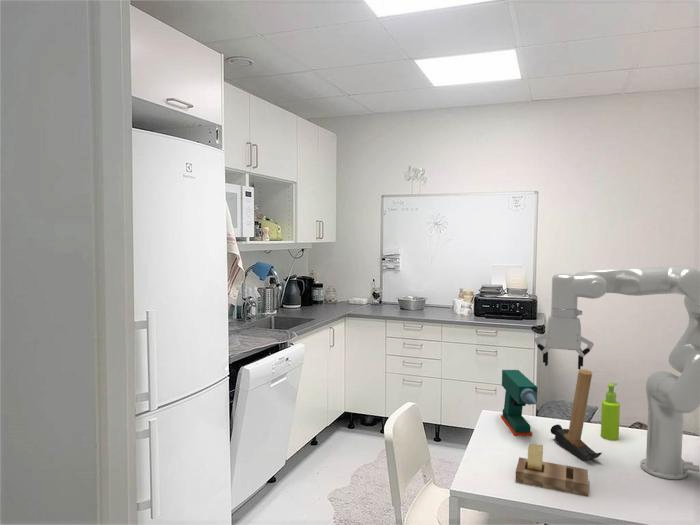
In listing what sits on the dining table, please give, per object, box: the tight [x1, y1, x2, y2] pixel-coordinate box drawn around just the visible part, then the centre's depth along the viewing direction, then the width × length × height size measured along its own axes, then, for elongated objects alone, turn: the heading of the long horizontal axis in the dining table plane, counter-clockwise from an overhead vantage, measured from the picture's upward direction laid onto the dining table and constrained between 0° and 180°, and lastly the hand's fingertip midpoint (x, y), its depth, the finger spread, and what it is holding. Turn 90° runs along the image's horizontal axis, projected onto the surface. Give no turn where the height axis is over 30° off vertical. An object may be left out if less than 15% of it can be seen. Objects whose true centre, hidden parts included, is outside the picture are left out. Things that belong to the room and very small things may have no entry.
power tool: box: [500, 369, 538, 437], centre depth 189 cm, size 32×7×20 cm, turn 179°
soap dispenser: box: [600, 382, 621, 441], centre depth 186 cm, size 6×7×20 cm
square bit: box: [527, 442, 544, 472], centre depth 156 cm, size 4×4×10 cm
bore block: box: [515, 456, 589, 497], centre depth 154 cm, size 20×10×4 cm, turn 66°
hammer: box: [550, 368, 603, 461], centre depth 172 cm, size 20×5×30 cm, turn 14°
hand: (562, 366), depth 160 cm, fingers open, 9 cm apart
